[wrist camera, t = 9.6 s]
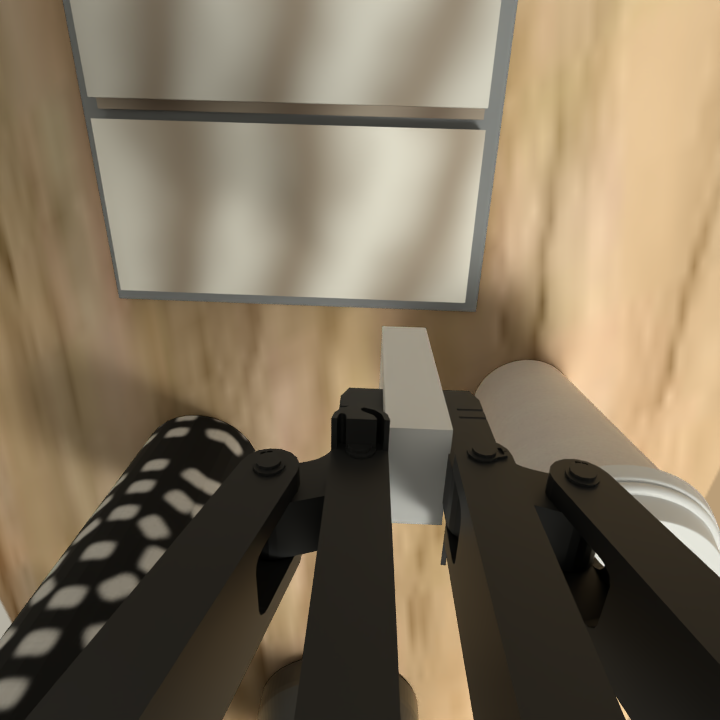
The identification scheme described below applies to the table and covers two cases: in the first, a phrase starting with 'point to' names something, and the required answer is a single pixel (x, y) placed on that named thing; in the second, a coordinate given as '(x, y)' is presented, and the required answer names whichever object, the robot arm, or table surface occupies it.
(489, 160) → the underlay
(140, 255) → the plank
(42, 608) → the spotted tube
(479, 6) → the laid board
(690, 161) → the table surface
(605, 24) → the table surface
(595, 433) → the coffee cup
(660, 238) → the table surface
